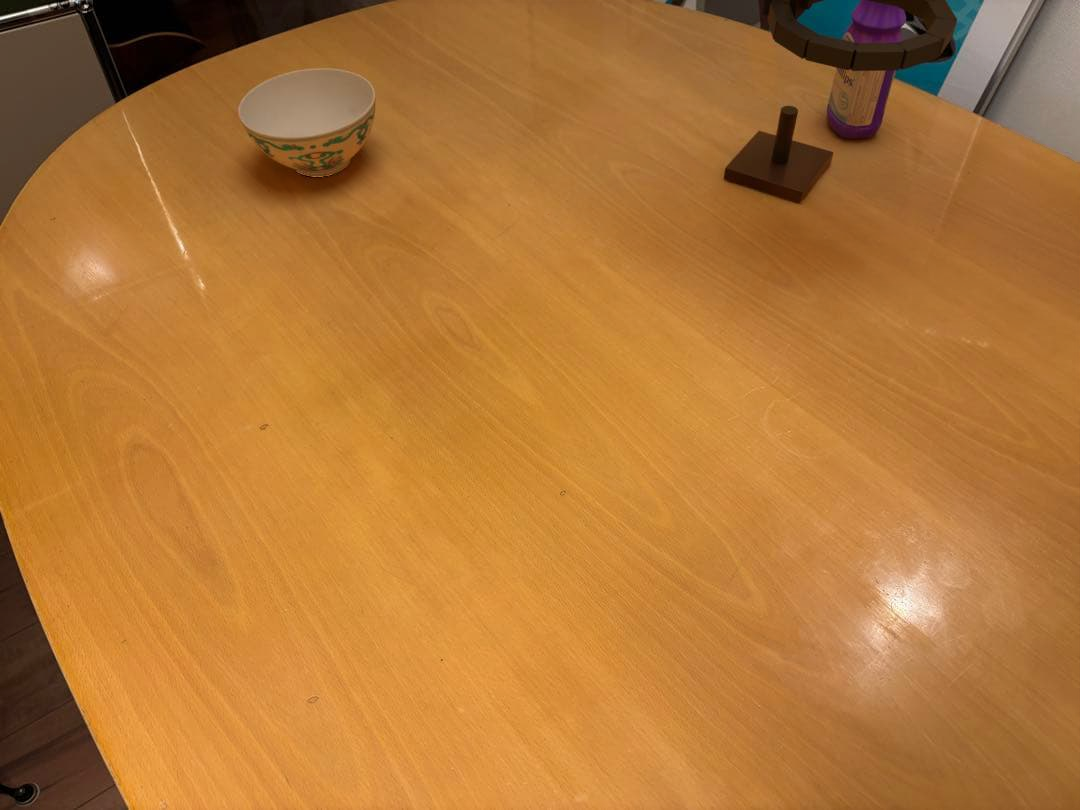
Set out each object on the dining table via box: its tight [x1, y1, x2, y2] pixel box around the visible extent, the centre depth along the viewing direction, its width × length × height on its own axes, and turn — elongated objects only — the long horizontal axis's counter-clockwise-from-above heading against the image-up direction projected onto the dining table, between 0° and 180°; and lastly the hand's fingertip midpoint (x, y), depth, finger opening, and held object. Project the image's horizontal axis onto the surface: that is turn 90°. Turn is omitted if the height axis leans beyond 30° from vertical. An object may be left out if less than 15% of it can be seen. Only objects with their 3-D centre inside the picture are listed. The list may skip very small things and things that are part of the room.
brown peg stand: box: [723, 105, 834, 204], centre depth 95 cm, size 9×9×8 cm
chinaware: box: [237, 67, 376, 177], centre depth 99 cm, size 15×15×8 cm
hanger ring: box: [767, 0, 958, 72], centre depth 74 cm, size 15×15×2 cm
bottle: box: [826, 0, 907, 139], centre depth 97 cm, size 7×6×17 cm
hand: (785, 10), depth 77 cm, fingers closed on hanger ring, 1 cm apart
